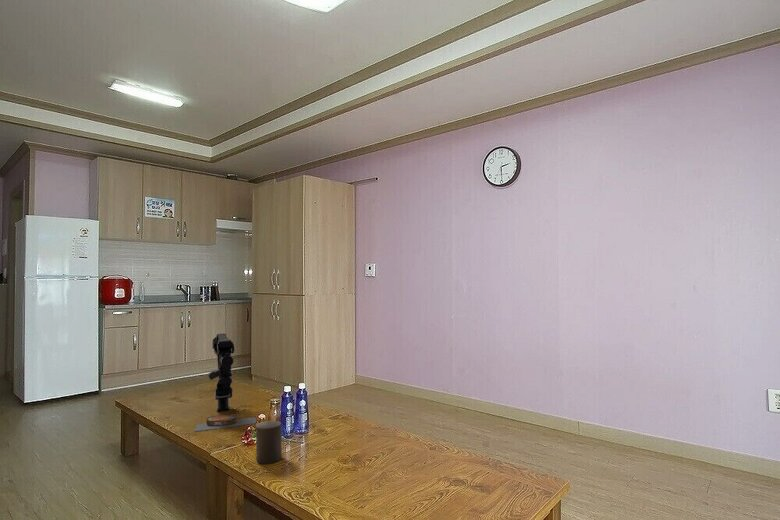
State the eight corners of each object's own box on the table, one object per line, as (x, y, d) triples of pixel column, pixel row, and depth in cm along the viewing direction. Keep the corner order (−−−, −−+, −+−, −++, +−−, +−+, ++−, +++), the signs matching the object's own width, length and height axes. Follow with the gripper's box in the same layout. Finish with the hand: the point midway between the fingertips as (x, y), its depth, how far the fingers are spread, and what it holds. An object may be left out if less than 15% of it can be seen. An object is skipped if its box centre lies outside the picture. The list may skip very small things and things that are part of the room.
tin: (239, 414, 229) (232, 418, 220) (239, 421, 228) (232, 425, 220) (211, 415, 230) (203, 419, 222) (211, 421, 230) (202, 425, 221)
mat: (196, 425, 223) (196, 424, 223) (255, 417, 233) (255, 417, 233) (194, 431, 214) (194, 431, 214) (256, 423, 223) (256, 422, 223)
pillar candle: (272, 465, 172) (271, 425, 172) (251, 462, 175) (250, 423, 176) (286, 456, 181) (286, 418, 182) (266, 453, 184) (265, 416, 185)
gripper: (209, 362, 243) (210, 391, 242) (207, 368, 225) (208, 400, 225) (231, 360, 247) (232, 389, 246) (231, 366, 229) (232, 397, 228)
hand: (226, 393), depth 236 cm, fingers closed
